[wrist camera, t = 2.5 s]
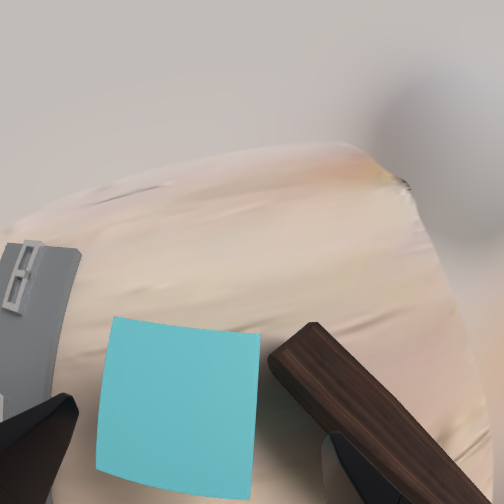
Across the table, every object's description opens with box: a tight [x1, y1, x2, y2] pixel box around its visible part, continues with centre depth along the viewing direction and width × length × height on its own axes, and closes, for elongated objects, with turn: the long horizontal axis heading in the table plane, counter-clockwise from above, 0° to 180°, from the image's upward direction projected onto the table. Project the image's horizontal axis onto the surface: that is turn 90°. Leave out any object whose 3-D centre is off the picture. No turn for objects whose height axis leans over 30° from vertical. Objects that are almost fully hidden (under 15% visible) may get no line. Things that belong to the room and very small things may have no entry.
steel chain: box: [0, 240, 46, 422], centre depth 13 cm, size 23×2×1 cm, turn 178°
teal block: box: [96, 316, 261, 500], centre depth 10 cm, size 4×4×11 cm
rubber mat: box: [0, 243, 82, 504], centre depth 13 cm, size 24×10×1 cm, turn 178°
